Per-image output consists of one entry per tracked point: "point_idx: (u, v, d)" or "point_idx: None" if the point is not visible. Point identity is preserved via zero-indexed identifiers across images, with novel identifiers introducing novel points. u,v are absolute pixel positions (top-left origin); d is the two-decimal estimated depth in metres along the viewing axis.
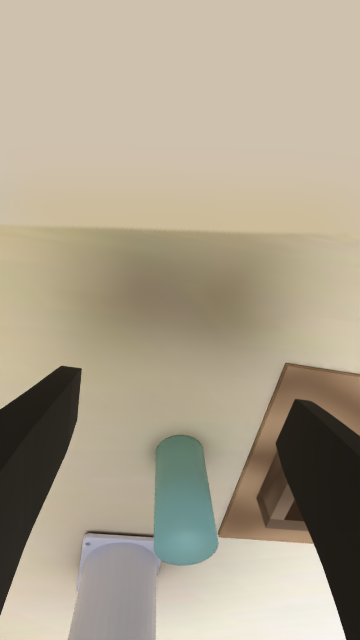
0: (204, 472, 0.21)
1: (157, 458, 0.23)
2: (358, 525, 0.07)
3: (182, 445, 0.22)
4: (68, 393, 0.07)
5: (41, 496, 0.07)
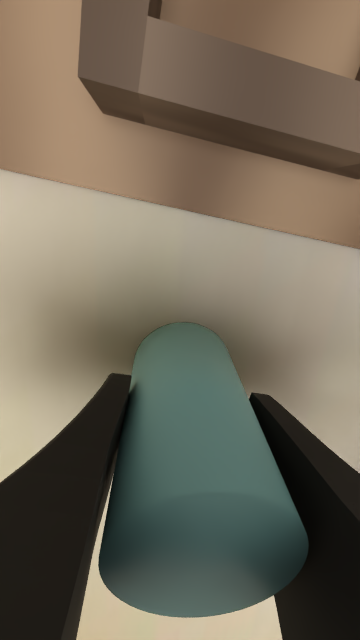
0: (153, 368, 0.09)
1: None
2: None
3: None
4: (126, 401, 0.08)
5: (104, 501, 0.07)
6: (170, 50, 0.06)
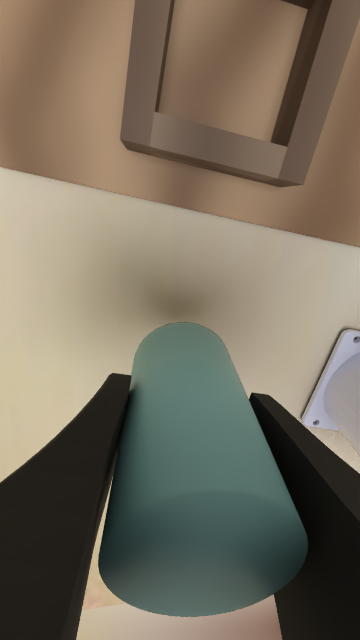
0: (153, 368, 0.09)
1: None
2: None
3: None
4: (126, 401, 0.08)
5: (104, 501, 0.07)
6: (165, 126, 0.11)
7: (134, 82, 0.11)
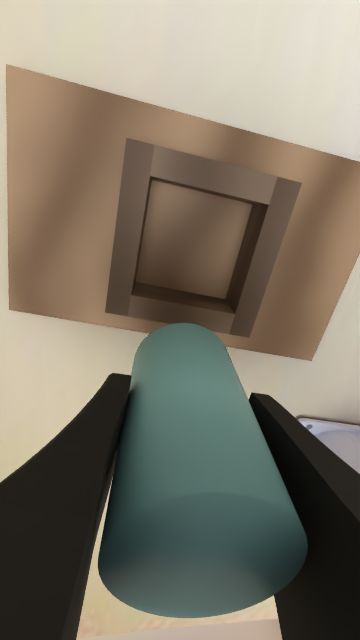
0: (153, 368, 0.09)
1: None
2: None
3: None
4: (126, 401, 0.08)
5: (104, 501, 0.07)
6: (139, 304, 0.15)
7: (115, 278, 0.14)
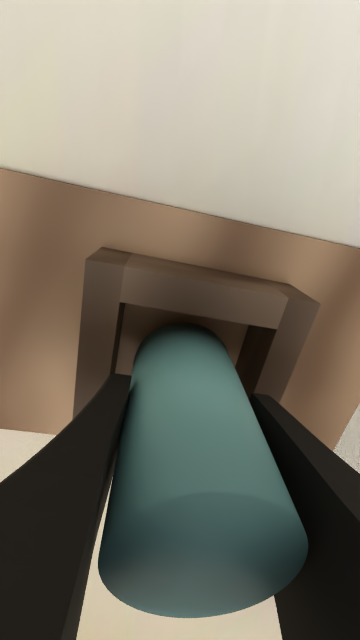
0: (153, 368, 0.09)
1: None
2: None
3: None
4: (126, 400, 0.08)
5: (104, 501, 0.07)
6: None
7: None
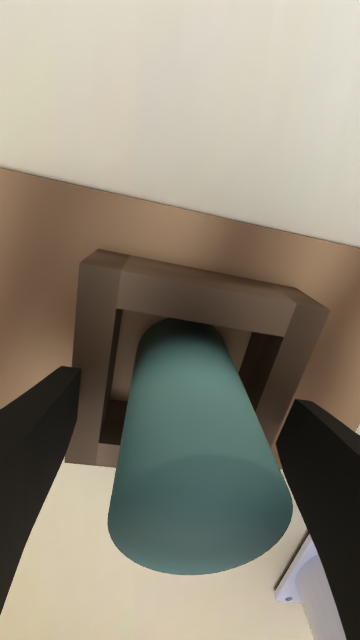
0: (155, 356, 0.09)
1: None
2: (358, 525, 0.07)
3: None
4: (68, 393, 0.07)
5: (41, 496, 0.07)
6: (110, 451, 0.11)
7: (75, 425, 0.10)
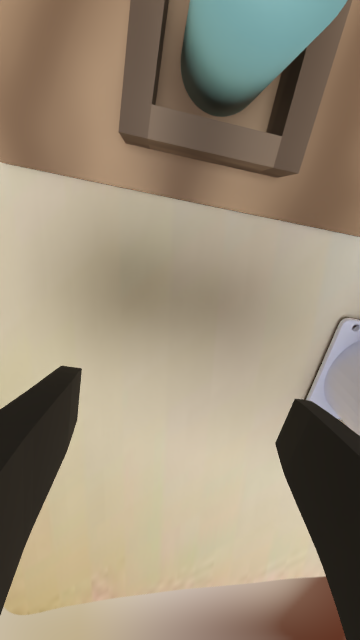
0: None
1: (210, 106, 0.13)
2: (358, 525, 0.07)
3: (182, 49, 0.12)
4: (68, 393, 0.07)
5: (41, 496, 0.07)
6: (162, 118, 0.12)
7: (131, 76, 0.11)
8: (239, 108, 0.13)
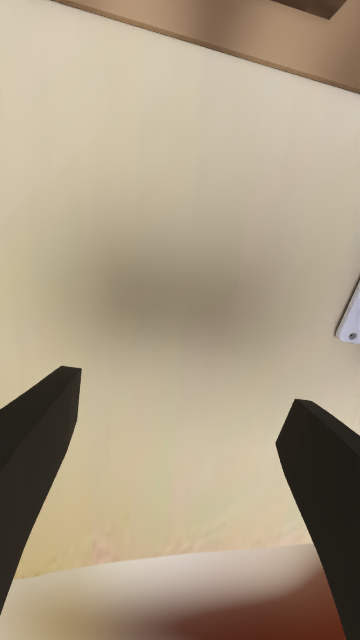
0: None
1: None
2: (358, 525, 0.07)
3: None
4: (68, 393, 0.07)
5: (41, 496, 0.07)
6: None
7: None
8: None
